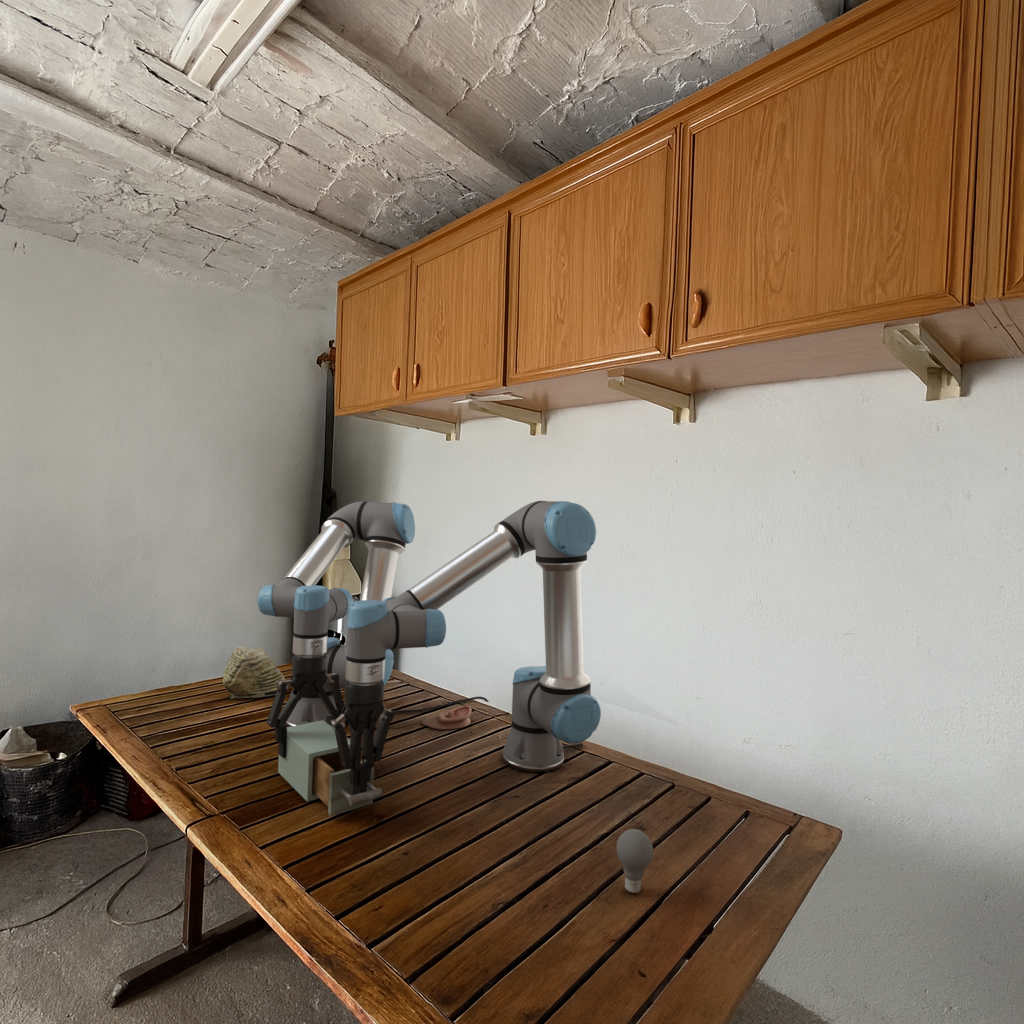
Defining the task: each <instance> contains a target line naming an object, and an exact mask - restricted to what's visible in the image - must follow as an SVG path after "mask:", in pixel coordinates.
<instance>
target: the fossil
mask: <svg viewBox="0 0 1024 1024" xmlns="http://www.w3.org/2000/svg"><path fill="white" fill-rule="evenodd" d="M222 676H223V677H222V685H223V687H224V688H225V690H226V691H228V693H229V698H230V699H250V698H264V697H271V696H276V693H277V682H278V681H279V680H282V681H286V678H285V676H284V674H283V673H282V672H281V669H279V668H278V667H277V665H276V663H275V662H274V660H273V659H272V658H271V657H270V656H269V655H268V654H267V653H266V652H265V650H264V649H263V648H260V647H258V648H251V647H247V646H246V647H245V646H238V647H237V648H236V649H235V650H233V651H232V653H231V656H230V657H229V659H228V660H227V663H226V666H225V668H224V671H223V675H222Z"/></svg>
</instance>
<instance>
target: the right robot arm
mask: <svg viewBox="0 0 1024 1024" xmlns="http://www.w3.org/2000/svg"><path fill="white" fill-rule="evenodd" d="M594 519H595V518H594V517H593V515H592V513H590V511H588V509H587V508H585V506H582V505H581V504H580V503H579V504H578V503H576V502H571V501H567V500H565V501H564V500H561V501H560V500H559V501H558V500H555V501H554V500H553V501H552V500H550V501H548V500H536V501H533V502H529V503H528V504H525V505H523V506H522V507H521V508H519V509H517V510H515V511H514V512H512V513H510V515H508V516H507V517H505V518H504V519H502V520H501V521H499V522H497V523H496V524H495V525H494V527H493V531H492V532H491V533H489V534H487V536H484V537H483V538H482V539H480V540H479V541H478V542H476V543H475V544H473V545H472V546H470V547H468V548H467V549H465V550H464V551H463V552H461V553H460V554H458V555H457V556H455V557H454V558H452V559H451V560H449V561H448V562H446V563H445V564H444V565H442V566H440V567H439V568H437V570H436V569H435V571H433V572H432V573H431V574H429V575H428V576H426V577H425V578H423V579H422V580H420V581H419V582H418V583H416V584H414V585H413V586H411V587H410V588H408V589H406V590H405V591H404V592H401V594H399V595H397V596H391V597H389V598H386V599H384V600H383V601H377V600H361V601H360V600H356V601H353V603H352V604H351V605H350V607H349V614H348V615H347V622H346V623H347V624H346V630H347V631H346V641H347V656H346V671H345V679H346V680H347V681H346V683H345V689H344V697H343V701H344V708H343V710H342V715H341V716H339V717H338V718H337V719H336V720H335V719H332V720H331V721H330V725H331V726H332V728H333V729H334V731H335V735H336V740H337V745H338V751H339V756H340V761H341V764H342V765H343V766H344V767H346V768H347V769H350V783H351V784H352V785H353V795H356V794H359V793H363V792H366V790H367V782H370V780H371V769H372V768H373V767H374V768H375V763H378V762H380V761H381V760H382V756H383V753H384V748H385V744H386V740H387V737H388V732H389V728H390V725H391V723H392V721H393V719H394V717H395V714H396V713H394V712H392V711H393V710H391V709H389V708H386V707H385V704H384V701H383V700H384V696H385V686H384V682H383V681H382V680H383V679H384V673H385V657H386V655H385V653H386V649H390V650H399V649H415V648H425V649H428V648H430V647H437V646H440V645H442V644H443V643H444V641H445V640H446V634H447V621H446V620H447V619H446V617H445V614H444V612H442V611H441V610H440V608H442V607H443V606H444V605H446V604H447V603H449V602H450V601H452V600H453V599H455V598H456V597H457V596H459V595H460V594H462V593H463V592H464V591H466V590H467V589H469V588H471V587H472V586H473V585H475V584H476V583H477V582H479V581H480V580H482V579H483V578H485V577H486V576H487V575H489V574H491V572H493V571H495V570H496V569H497V568H499V567H500V566H501V565H503V564H504V563H506V562H508V561H509V560H510V559H519V558H520V557H522V556H523V555H525V554H526V553H529V552H532V551H535V563H536V564H537V565H538V566H539V567H540V568H541V569H542V591H543V621H544V622H543V623H544V654H545V655H544V656H545V657H544V658H545V665H531V666H521V667H520V668H517V669H516V670H515V671H514V673H513V678H512V703H511V725H510V726H511V727H510V730H509V732H508V736H507V738H506V741H505V744H504V746H503V750H502V761H503V762H504V764H505V765H507V766H508V767H510V768H512V769H515V770H517V771H522V772H526V773H547V772H553V771H556V770H558V769H560V768H561V767H562V766H563V765H564V763H565V752H564V750H566V749H573V748H574V749H575V748H580V747H583V746H584V744H583V742H584V741H586V740H588V739H589V738H590V737H591V736H592V735H593V733H594V732H595V731H596V730H597V728H598V726H599V725H600V722H601V717H602V709H601V705H600V703H599V702H598V701H597V698H595V697H594V696H593V695H592V689H591V678H590V677H589V675H587V673H586V672H584V649H583V648H584V644H583V642H584V639H583V609H582V607H583V606H582V605H583V604H582V603H583V602H582V572H581V571H582V567H583V566H584V565H585V564H586V563H587V562H588V552H589V551H591V549H592V546H593V545H594V544H595V542H596V538H597V527H596V522H595V520H594ZM346 723H347V725H348V726H349V731H350V751H349V746H348V741H347V738H348V736H347V732H346V729H345V728H346ZM562 743H566V744H565V745H563V744H562ZM361 760H362V763H363V765H362V764H361ZM365 802H366V801H365Z"/></svg>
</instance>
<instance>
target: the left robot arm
mask: <svg viewBox="0 0 1024 1024" xmlns="http://www.w3.org/2000/svg"><path fill="white" fill-rule="evenodd" d="M413 513H414V512H413V510H412V508H411V507H410V506H409V505H408V504H405V503H399V502H380V501H363V500H362V501H355V502H352V503H348V504H347V505H344V506H343V507H341V508H339V509H338V510H336V511H335V512H334V513H333V514H331V515H330V516H329V517H328V518H327V519H326V520H325V521H324V522H323V524H322V525H321V528H320V533H319V534H318V535H317V537H316V538H315V539H314V540H313V541H312V543H311V544H310V545H309V546H308V548H307V549H306V550H305V551H304V553H303V554H302V555H301V556H300V558H299V559H298V560H297V561H296V562H295V564H294V565H293V566H292V567H291V568H290V570H289V571H288V572H287V573H286V575H284V577H283V578H282V579H281V581H280V582H279V583H278V584H274V583H273V584H267V585H264V586H263V587H262V588H261V589H260V590H259V593H258V596H257V606H258V610H259V612H261V614H263V615H265V616H269V617H276V618H279V617H280V618H291V619H292V618H293V637H292V654H293V656H291V657H292V659H291V660H292V661H291V677H290V679H288V680H286V679H285V680H286V681H282V680H279V681H278V682H277V693H276V695H274V699H273V702H272V705H271V707H270V711H269V713H268V716H267V719H266V724H267V725H268V726H269V727H270V728H275V729H274V740H275V742H276V743H277V744H278V756H279V755H280V756H281V757H282V758H285V757H286V747H287V728H286V727H291V726H296V725H301V724H306V723H312V722H317V721H322V720H323V721H325V722H326V723H328V724H329V725H330V721H331V720H332V719H335V720H336V719H337V718H338V717H339V716H341V715H342V710H343V708H344V705H345V702H344V697H343V694H342V691H341V690H345V683H346V681H347V680H346V679H345V671H346V656H347V640H346V641H345V644H340V643H341V641H340V639H339V638H338V637H334V636H333V637H332V636H331V637H329V635H328V633H329V623H332V622H334V621H338V620H341V619H343V618H344V617H346V616H348V614H349V607H350V605H351V604H352V603H354V598H353V595H352V594H351V592H350V591H349V590H347V589H346V588H343V587H332V588H328V587H327V586H324V585H317V584H318V582H319V581H320V580H321V578H322V577H323V575H325V573H326V572H327V571H328V569H329V567H330V566H331V565H332V563H333V562H334V561H335V560H336V558H337V557H338V555H340V553H341V552H342V550H343V549H345V548H347V547H349V546H350V545H351V544H352V543H353V542H355V541H364V546H365V547H366V548H367V550H368V554H367V559H366V565H365V569H364V575H363V580H362V585H361V591H360V595H359V601H361V600H377V601H383V600H384V599H386V598H389V597H393V591H394V583H395V578H396V573H397V566H398V561H399V556H400V554H402V553H403V552H405V550H406V545H408V544H411V543H412V542H413V541H414V539H415V533H416V523H415V517H414V514H413ZM385 655H386V657H385V673H384V679H383V680H382V681H383V682H384V687H385V686H386V684H388V682H389V680H390V677H391V675H392V672H393V668H394V663H395V660H394V652H393V650H392V649H386V653H385ZM290 687H292V690H291V692H290V693H289V697H288V699H287V700H286V702H285V699H286V695H287V691H288V690H290ZM474 700H483V701H484V702H486V703H489V702H490V700H489V699H487V698H486V697H483V696H474V697H469V698H463V699H457V700H453V701H450V702H447V703H442V704H439V705H435V706H429V707H424V708H414V709H398V710H391V711H392V712H394V714H400V713H401V714H403V713H418V712H425V711H431V710H436V709H440V708H444V707H447V706H453V705H455V704H458V703H463V702H464V703H465V702H469V701H474ZM284 702H285V704H284ZM330 726H331V725H330Z"/></svg>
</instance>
